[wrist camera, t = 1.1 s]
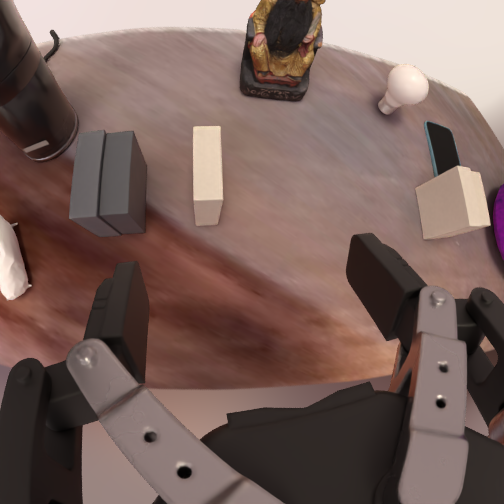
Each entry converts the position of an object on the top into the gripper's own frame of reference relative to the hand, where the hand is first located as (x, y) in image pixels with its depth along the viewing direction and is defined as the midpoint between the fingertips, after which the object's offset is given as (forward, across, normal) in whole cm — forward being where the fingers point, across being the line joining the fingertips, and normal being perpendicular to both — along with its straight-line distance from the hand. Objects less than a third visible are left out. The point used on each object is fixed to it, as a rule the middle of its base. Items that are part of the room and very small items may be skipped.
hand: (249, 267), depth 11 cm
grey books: (+26, +11, +7) cm, 29 cm away
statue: (+37, -11, -5) cm, 39 cm away
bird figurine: (+22, +27, +11) cm, 37 cm away
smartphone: (+30, -39, +6) cm, 50 cm away
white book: (+26, +1, +8) cm, 27 cm away
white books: (+24, -33, +12) cm, 42 cm away
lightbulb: (+35, -28, -2) cm, 45 cm away
